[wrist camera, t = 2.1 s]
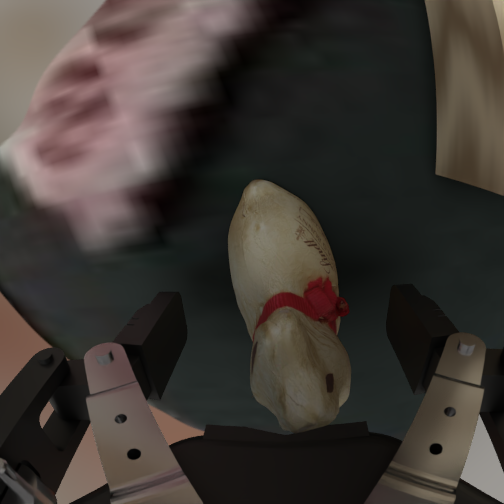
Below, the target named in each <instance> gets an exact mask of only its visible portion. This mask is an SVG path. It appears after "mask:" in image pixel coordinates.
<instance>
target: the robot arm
mask: <svg viewBox="0 0 504 504" xmlns="http://www.w3.org/2000/svg"><path fill="white" fill-rule="evenodd" d="M386 331H387V336H388V338H389V340H390V342H391V345H392V347H393V349H394V351H395V353H396V355H397V357H398V360H399V362H400V364H401V366H402V368H403V371H404V373H405V375H406V377H407V380H408V382H409V384H410V386H411V389H412V391H413V393H414V395H416V394H422V393H426V394H425V397H424V399H423V401H422V403H421V406H420V408H419V410H418V412H417V414H416V416H415V418H414V420H413V422H412V424H411V426H410V428H409V430H408V432H407V434H406V436H405V438H404V440H403V441H401V440H399V439H396V438H394V437H391V436H388V435H384V434H379V433H373V432H369V431H368V427H367V423H366V421H364V422H356V423H346V424H335V425H326V426H323V427H319V428H315V429H311V430H307V431H303V432H299V433H295V434H290V435H282V434H276V433H271V432H266V431H262V430H257V429H252V428H248V427H237V426H219V425H206V428H205V432H204V435H203V436H196V437H191V438H188V439H184V440H181V441H178V442H176V443H173V444H171V445H169V446H168V444H167V442H166V440H165V438H164V436H163V434H162V432H161V430H160V429H159V427H158V424H157V422H156V420H155V418H154V416H153V414H152V412H151V410H150V408H149V406H148V403H147V399H154V400H160V399H161V397H162V395H163V392H164V390H165V388H166V386H167V383H168V381H169V379H170V377H171V374H172V372H173V370H174V368H175V365H176V363H177V361H178V359H179V357H180V354H181V352H182V350H183V348H184V346H185V343H186V340H187V325H186V320H185V315H184V310H183V304H182V299H181V295H180V293H179V292H159V293H158V294H157V296H156V297H155V298H154V299H153V301H152V302H151V303H150V304H147V305H145V306H143V307H142V308H140V309H139V310H137V312H136V313H135V314H134V315H133V317H132V319H130V320H129V322H128V323H127V325H126V326H125V327H124V328H123V329H122V331H121V332H120V333H119V335H118V336H117V337H116V338H115V340H114V341H113V342H112V343H103V344H100V345H97V346H95V347H93V348H92V349H90V350H89V351H88V352H87V353H86V355H85V357H84V359H81V360H69V361H67V359H66V357H65V355H64V353H63V351H62V350H61V349H59V348H47V349H44V350H42V351H40V352H38V353H37V354H35V355H34V356H33V357H32V358H31V359H30V360H29V362H28V363H27V364H26V365H25V366H24V368H23V369H22V370H21V371H20V372H19V373H18V374H17V376H16V377H15V378H14V379H13V380H12V382H11V383H10V384H9V385H8V386H7V388H6V389H5V390H4V391H3V393H2V394H1V395H0V504H57V499H56V496H55V494H56V492H57V490H58V488H59V486H60V484H61V481H62V479H63V477H64V475H65V473H66V471H67V468H68V467H69V464H70V462H71V460H72V458H73V456H74V454H75V452H76V450H77V448H78V446H79V444H80V442H81V440H82V438H83V436H84V434H85V432H86V430H87V428H88V426H89V424H90V423H91V425H92V430H93V434H94V437H95V442H96V446H97V449H98V453H99V456H100V460H101V463H102V467H103V470H104V473H105V476H106V479H107V482H108V483H107V484H105V485H103V486H102V487H100V488H98V489H97V490H95V491H93V492H91V493H89V494H87V495H85V496H83V497H81V498H79V499H77V500H75V501H73V502H71V503H69V504H504V503H502V502H500V501H498V500H496V499H495V498H493V497H491V496H489V495H487V494H486V493H484V492H482V491H481V490H479V489H477V488H476V487H474V486H472V485H471V484H469V483H467V482H466V481H464V480H462V479H461V478H460V476H461V474H462V471H463V468H464V465H465V462H466V459H467V456H468V453H469V450H470V446H471V443H472V439H473V436H474V432H475V428H476V424H477V421H478V416H479V414H480V416H481V418H482V421H483V423H484V425H485V427H486V430H487V432H488V434H489V436H490V439H491V441H492V444H493V446H494V449H495V451H496V453H497V456H498V459H499V461H500V463H501V467H502V469H503V472H504V348H503V349H486V347H485V344H484V342H483V341H482V340H481V339H480V338H478V337H477V336H475V335H472V334H469V333H459V331H458V330H457V329H456V327H455V326H454V325H453V324H452V322H451V321H450V320H449V319H448V317H447V316H445V314H444V313H443V311H442V310H440V308H439V306H438V305H437V304H436V303H435V302H434V301H433V300H431V299H430V298H428V297H426V296H424V295H423V296H422V295H421V294H420V293H419V292H418V290H417V289H416V288H415V287H414V286H413V285H412V284H403V285H393V286H392V289H391V293H390V301H389V308H388V314H387V321H386ZM48 401H49V402H50V403H51V405H52V407H53V408H54V411H53V413H52V414H51V416H50V417H49V419H48V421H47V422H46V424H45V425H44V427H43V429H42V428H41V426H40V422H39V417H40V414H41V412H42V410H43V408H44V407H45V406H46V404H47V403H48Z"/></svg>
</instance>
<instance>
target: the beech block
mask: <svg viewBox="0 0 504 504" xmlns="http://www.w3.org/2000/svg"><path fill="white" fill-rule="evenodd" d="M425 4H426V10H427V15H428V21H429V27H430V34H431V41H432V49H433V58H434V68H435V82H436V101H437V152H436V172H435V174H436V175H440V176H443V177H447V178H450V179H454V180H457V181H460V182H464V183H467V184H470V185H473V186H476V187H479V188H482V189H485V190H488V191H491V192H494V193H497V194H500V195H503V196H504V0H425Z"/></svg>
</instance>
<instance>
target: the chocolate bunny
mask: <svg viewBox="0 0 504 504" xmlns="http://www.w3.org/2000/svg"><path fill="white" fill-rule="evenodd" d="M228 252H229V264H230V272H231V278H232V284H233V288H234V291H235V295H236V300H237V304H238V307H239V309H240V312H241V314H242V316H243V318H244V320H245V322H246V325H247V329H248V332H249V334H250V337H251V339H252V341H253V347H252V352H251V362H250V384H251V390H252V392H253V396H254V397H255V399H256V400H257V402H259V403H260V404H262V405H264V406H265V407H267V408H268V409H269V410H270V411H271V412H272V413H273V414H274V415H276V417H277V419H278V421H279V424H280V426H281V427H282V428H283V429H284V430H289V431H291V432H293V433H299V432H303V431H307V430H311V429H315V428H319V427H323V426H326V425H328V424H330V423H331V422H332V421H333V420H334V419H335V418H336V416H337V414H338V413H339V407H340V406H341V405H342V404H343V403H344V402H345V401H346V400H347V398H348V396H349V392H350V382H351V367H350V361H349V356H348V353H347V352H346V350H345V348H344V346H343V345H342V343H341V341H340V340H339V338H338V336H337V333H338V331H339V325H340V316H341V317H343V316H346V315H347V314H348V313H349V306H348V304H347V302H346V300H345V299H344V298H342V297H339V289H338V277H337V271H336V265H335V261H334V258H333V255H332V251H331V248H330V245H329V243H328V240H327V238H326V236H325V234H324V232H323V230H322V228H321V226H320V223H319V221H318V220H317V218H316V216H315V214H314V213H313V211H312V210H311V209H310V208H309V207H308V205H307V204H306V203H305V202H304V201H302V200H301V199H300V198H298V197H297V196H295V195H293V194H292V193H290V192H288V191H286V190H285V189H283V188H281V187H279V186H278V185H276V184H274V183H272V182H270V181H265V180H260V179H258V180H253V181H251V182H250V183H249V185H248V186H247V187H246V188H245V189H244V191H243V194H242V198H241V200H240V203H239V205H238V207H237V209H236V211H235V214H234V216H233V219H232V221H231V225H230V228H229V235H228ZM253 396H252V397H253Z"/></svg>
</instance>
